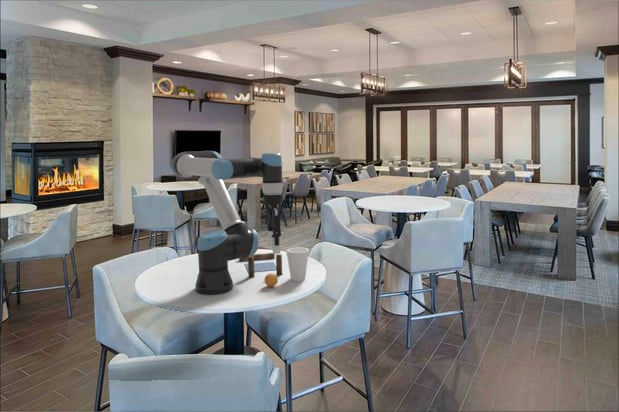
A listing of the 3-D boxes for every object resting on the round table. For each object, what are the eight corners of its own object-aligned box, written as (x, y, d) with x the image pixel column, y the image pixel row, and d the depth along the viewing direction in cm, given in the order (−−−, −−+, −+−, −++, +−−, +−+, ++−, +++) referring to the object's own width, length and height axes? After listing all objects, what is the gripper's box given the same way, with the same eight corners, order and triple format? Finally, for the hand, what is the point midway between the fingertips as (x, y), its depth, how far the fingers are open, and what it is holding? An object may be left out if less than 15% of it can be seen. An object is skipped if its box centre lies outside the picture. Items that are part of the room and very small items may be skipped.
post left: (248, 277, 199) (248, 258, 197) (248, 276, 201) (247, 256, 200) (254, 277, 199) (254, 257, 198) (254, 275, 202) (253, 256, 200)
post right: (277, 275, 202) (276, 255, 200) (276, 273, 204) (275, 254, 203) (282, 274, 202) (282, 255, 201) (281, 273, 205) (281, 254, 203)
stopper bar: (239, 261, 226) (239, 256, 226) (239, 260, 228) (239, 255, 228) (274, 258, 231) (274, 253, 230) (274, 257, 233) (274, 252, 232)
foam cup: (306, 282, 191) (305, 253, 189) (285, 281, 192) (284, 252, 190) (310, 276, 200) (310, 247, 198) (290, 275, 202) (289, 247, 200)
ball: (265, 289, 183) (265, 276, 182) (263, 285, 188) (263, 272, 187) (279, 288, 184) (278, 275, 183) (276, 283, 190) (276, 271, 189)
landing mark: (248, 272, 207) (248, 272, 207) (245, 264, 220) (245, 264, 220) (278, 270, 210) (278, 269, 210) (273, 262, 223) (273, 261, 223)
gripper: (288, 196, 161) (289, 256, 165) (277, 190, 183) (278, 243, 186) (267, 197, 160) (269, 258, 163) (258, 190, 181) (260, 244, 185)
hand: (274, 250), depth 175 cm, fingers open, 10 cm apart
